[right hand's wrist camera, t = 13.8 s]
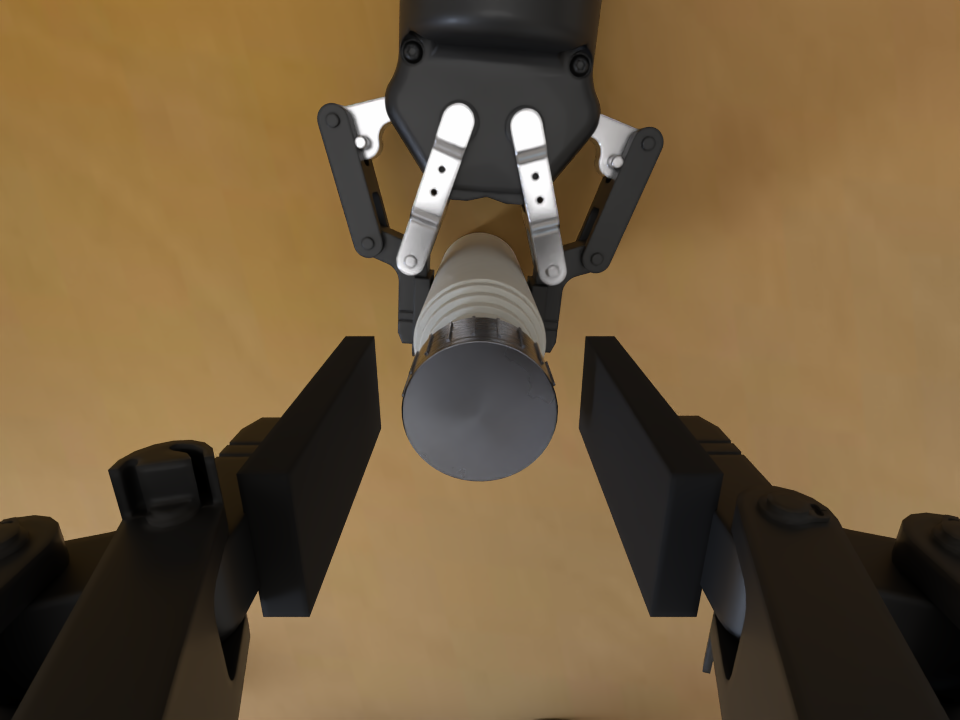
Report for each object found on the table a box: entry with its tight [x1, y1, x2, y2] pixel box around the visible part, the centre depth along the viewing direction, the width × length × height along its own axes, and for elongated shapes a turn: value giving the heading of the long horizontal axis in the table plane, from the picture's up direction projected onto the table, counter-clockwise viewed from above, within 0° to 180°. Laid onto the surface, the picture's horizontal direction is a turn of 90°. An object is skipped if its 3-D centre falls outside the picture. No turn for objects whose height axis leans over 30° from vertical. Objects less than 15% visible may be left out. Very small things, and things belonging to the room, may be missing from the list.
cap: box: [402, 316, 558, 481], centre depth 13 cm, size 4×4×2 cm
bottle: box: [414, 233, 546, 358], centre depth 21 cm, size 4×4×18 cm
